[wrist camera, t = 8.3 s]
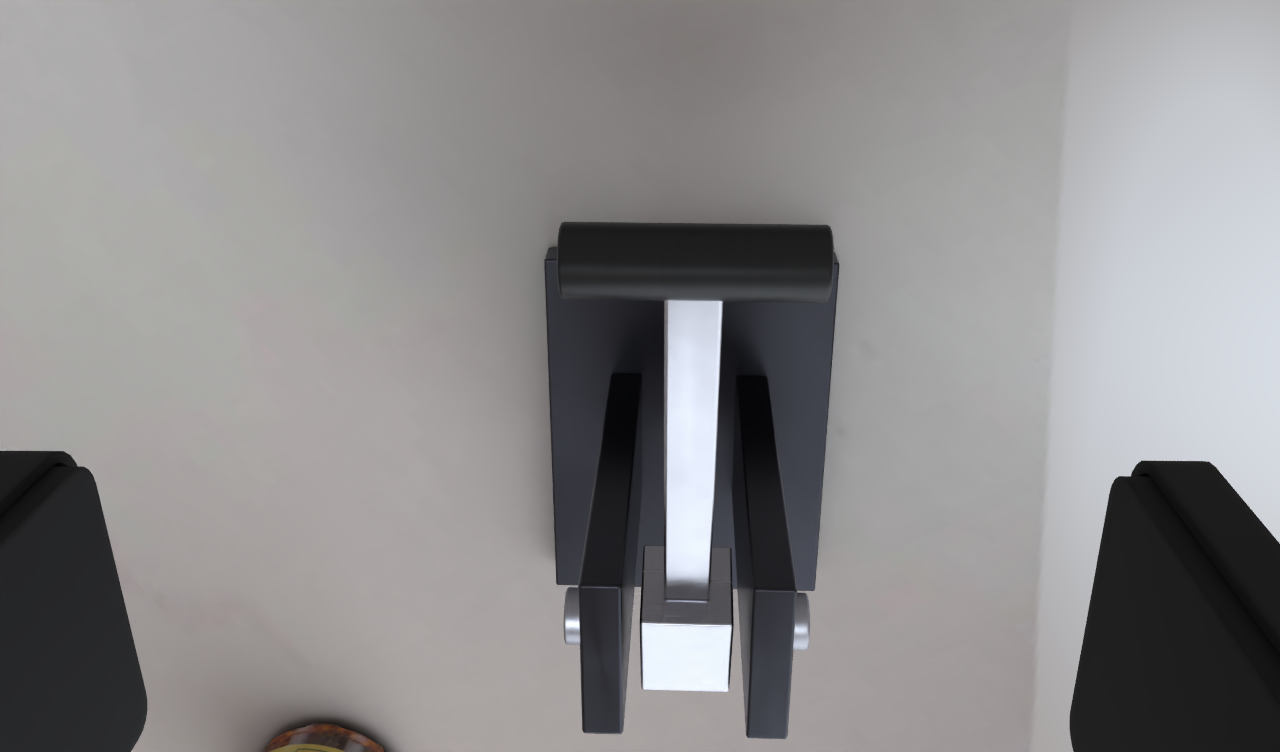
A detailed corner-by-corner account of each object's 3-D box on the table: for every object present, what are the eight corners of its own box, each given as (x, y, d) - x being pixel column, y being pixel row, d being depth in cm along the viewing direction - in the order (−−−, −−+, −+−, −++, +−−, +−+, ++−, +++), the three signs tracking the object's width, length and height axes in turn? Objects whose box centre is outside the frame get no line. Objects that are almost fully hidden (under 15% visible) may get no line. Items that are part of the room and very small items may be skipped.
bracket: (548, 246, 37) (481, 435, 25) (835, 250, 36) (901, 443, 25) (559, 565, 42) (508, 846, 30) (811, 571, 41) (857, 858, 30)
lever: (563, 192, 22) (552, 268, 20) (827, 195, 22) (838, 271, 20) (591, 610, 31) (585, 689, 29) (780, 615, 31) (785, 694, 29)
